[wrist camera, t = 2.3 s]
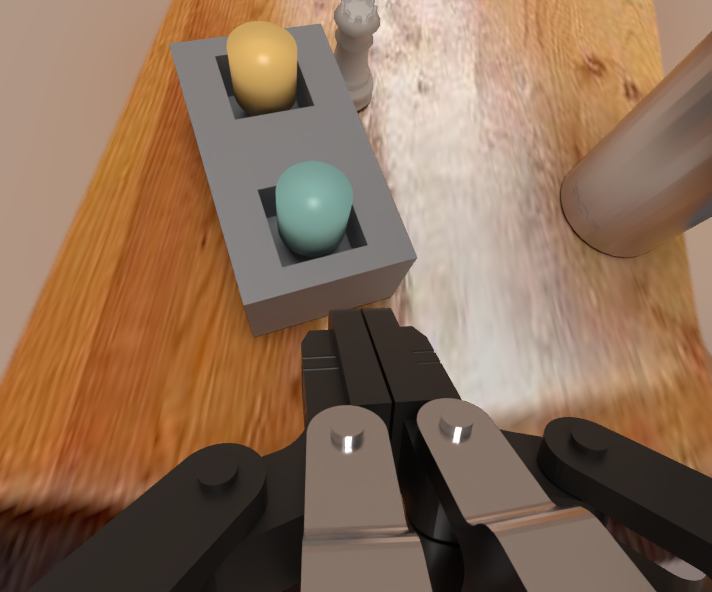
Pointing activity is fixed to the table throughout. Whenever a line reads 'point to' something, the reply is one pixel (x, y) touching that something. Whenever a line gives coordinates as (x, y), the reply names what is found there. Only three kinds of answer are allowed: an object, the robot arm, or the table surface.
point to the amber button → (263, 67)
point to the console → (262, 171)
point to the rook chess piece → (356, 46)
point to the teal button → (313, 207)
